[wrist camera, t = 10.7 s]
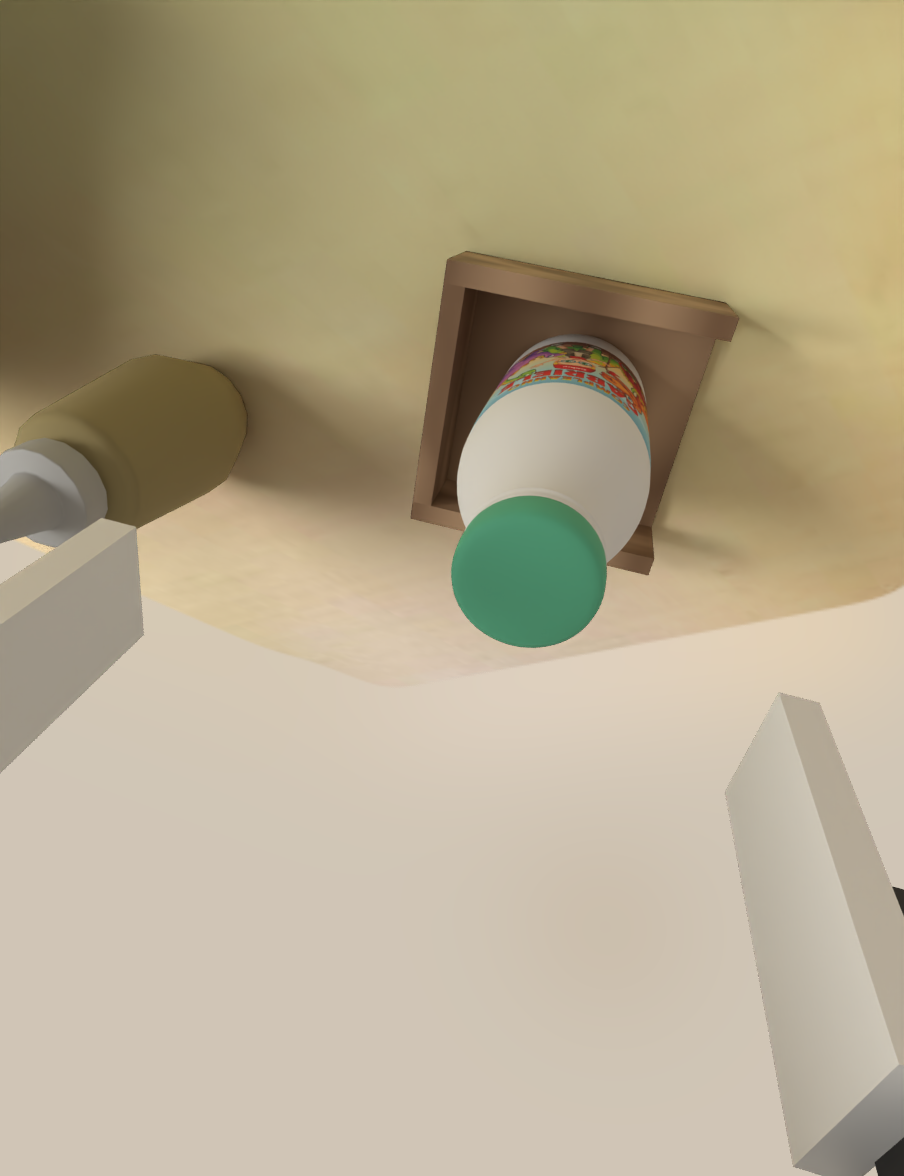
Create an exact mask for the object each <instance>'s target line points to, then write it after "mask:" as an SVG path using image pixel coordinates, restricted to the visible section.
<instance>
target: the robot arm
mask: <svg viewBox="0 0 904 1176" xmlns="http://www.w3.org/2000/svg"><path fill="white" fill-rule="evenodd" d="M143 635H144V631H143V618H142V604H141V589H140V575H139V561H138V547H137V533H136V527H135V526H131V525H127V524H123V523H119V522H115V521H112V520H108V519H104V518H100V519H99V520H97V521H96V522H94V523H93V524H91V525H90V526H88V527H87V528H85V529H84V530H82V531H81V532H79V533H78V534H76V535H75V536H73V537H71V538H70V539H68V540H67V541H65V542H64V543H62V544H61V545H59V546H58V547H56V548H55V549H53V550H52V551H50V552H49V553H47V554H46V555H44V556H43V557H41V558H39V559H38V560H37V561H35V562H33V563H32V564H30V565H29V566H27V567H26V568H24V569H23V570H21V571H20V572H18V573H17V574H15V575H14V576H12V577H11V578H9V579H8V580H6V581H4V582H3V583H1V584H0V773H1V772H2V771H3V770H4V769H5V768H6V767H7V766H8V765H9V764H10V763H11V762H12V761H13V760H14V759H15V758H16V757H17V756H19V755H20V754H21V753H22V752H23V751H24V750H25V749H26V748H27V747H28V746H29V745H30V744H31V743H32V742H33V741H34V740H35V739H36V738H37V737H38V736H39V735H40V734H41V733H42V732H43V731H44V730H46V729H47V728H48V727H49V726H50V724H52V723H53V722H54V721H55V720H56V719H57V718H58V717H59V716H60V715H61V714H62V713H63V712H64V711H65V710H66V709H67V708H68V707H69V706H70V705H71V704H72V703H74V701H75V700H77V699H78V698H79V697H80V696H81V695H82V694H83V693H84V692H85V691H86V690H87V689H88V688H89V687H90V686H91V685H92V684H93V683H94V682H95V681H96V680H97V679H98V678H99V677H100V676H101V675H103V673H105V672H106V671H107V670H108V669H109V668H110V667H111V666H112V665H113V664H114V663H115V662H116V661H117V660H118V659H119V658H120V657H121V656H122V655H123V654H124V653H125V652H126V651H127V650H128V649H130V648H131V647H132V646H133V645H134V644H135V643H136V642H137V641H138V640H139V639H140V638H141V637H142V636H143ZM725 795H726V800H727V806H728V811H729V817H730V823H731V828H732V834H733V839H734V845H735V850H736V856H737V861H738V867H739V872H740V878H741V883H742V889H743V894H744V899H745V905H746V911H747V916H748V922H749V927H750V933H751V938H752V944H753V949H754V954H755V960H756V966H757V971H758V977H759V982H760V988H761V993H762V999H763V1004H764V1010H765V1015H766V1020H767V1025H768V1032H769V1037H770V1043H771V1048H772V1053H773V1059H774V1065H775V1070H776V1076H777V1081H778V1087H779V1092H780V1098H781V1103H782V1108H783V1114H784V1120H785V1125H786V1131H787V1136H788V1142H789V1147H790V1153H791V1158H792V1164H793V1167H796V1168H799V1169H802V1170H806V1171H809V1172H812V1173H815V1174H819V1175H822V1176H864V1175H865V1174H866V1173H867V1172H869V1171H870V1170H871V1169H872V1168H873V1167H874V1166H876V1170H877V1173H878V1176H904V890H903V889H900V888H896V887H892V885H891V883H890V880H889V878H888V875H887V873H886V870H885V868H884V865H883V863H882V860H881V857H880V855H879V852H878V850H877V847H876V845H875V842H874V840H873V837H872V835H871V832H870V830H869V827H868V824H867V822H866V819H865V817H864V815H863V812H862V809H861V807H860V804H859V802H858V799H857V797H856V794H855V792H854V789H853V786H852V784H851V781H850V779H849V776H848V774H847V771H846V769H845V766H844V764H843V761H842V759H841V756H840V753H839V751H838V748H837V746H836V743H835V741H834V738H833V736H832V733H831V731H830V728H829V726H828V723H827V721H826V718H825V716H824V713H823V711H822V708H821V705H820V703H818V702H814V701H810V700H807V699H803V698H798V697H795V696H791V695H787V694H783V693H778V695H777V697H776V699H775V701H774V702H773V704H772V706H771V708H770V710H769V712H768V714H767V715H766V717H765V719H764V721H763V723H762V724H761V726H760V728H759V730H758V732H757V734H756V735H755V737H754V739H753V741H752V743H751V745H750V747H749V748H748V750H747V752H746V754H745V756H744V758H743V760H742V761H741V763H740V765H739V767H738V769H737V771H736V772H735V774H734V776H733V778H732V780H731V782H730V784H729V785H728V787H727V789H726V791H725Z"/></svg>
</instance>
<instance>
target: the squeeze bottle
mask: <svg viewBox="0 0 904 1176" xmlns="http://www.w3.org/2000/svg"><path fill="white" fill-rule="evenodd" d="M246 433H247V413H246V410H245V407H244V404H243V401H242V398H241V395H240V394H239V392H238V391H237V390H236V388H235V387H234V386H233V384H232V383H231V382H230V380H229V379H228V378H227V377H225V376H224V375H222V374H221V373H220V372H218V371H217V370H215V369H214V368H212V367H211V366H207V365H203V364H199V363H195V362H190V361H186V360H181V359H176V358H171V357H166V356H161V355H156V354H155V355H150V356H145V357H140V358H136V359H131V360H129V361H127V362H126V363H124V364H122V365H120V366H119V367H117V368H115V369H113V370H112V371H110V372H108V373H106V374H104V375H103V376H101V377H99V378H97V379H96V380H94V381H92V382H90V383H89V384H87V385H85V386H83V387H81V388H80V389H78V390H76V391H74V392H73V393H71V394H69V395H67V396H66V397H64V398H62V399H60V400H59V401H57V402H55V403H53V404H51V405H50V406H48V407H46V408H44V409H43V410H41V411H39V412H37V413H36V414H34V415H33V416H32V417H31V418H30V419H29V420H28V421H27V422H25V423H24V424H23V425H22V426H21V427H20V428H19V431H18V435H17V438H16V442H15V445H14V447H13V448H11V449H8V450H6V451H4V452H3V453H2V454H1V455H0V543H3V542H6V541H10V540H14V539H17V538H21V537H24V536H26V537H28V538H29V539H31V540H32V541H34V542H36V543H40V544H43V545H47V546H51V547H58V546H59V545H61V544H62V543H64V542H65V541H67V540H68V539H70V538H71V537H73V536H75V535H76V534H78V533H79V532H81V531H82V530H84V529H85V528H87V527H88V526H90V525H91V524H93V523H94V522H96V521H97V520H99V519H100V518H104V519H108V520H112V521H115V522H119V523H123V524H127V525H131V526H135V527H136V529H138V528H140V527H141V526H143V525H145V524H147V523H149V522H151V521H153V520H155V519H157V518H159V517H161V516H163V515H165V514H167V513H169V512H171V511H173V510H175V509H177V508H179V507H181V506H183V505H185V504H187V503H189V502H191V501H193V500H194V499H196V498H198V497H200V496H202V495H204V494H206V493H208V492H210V491H211V490H213V489H214V488H215V487H217V486H218V485H220V484H221V483H222V482H224V481H225V480H227V478H228V476H229V473H230V471H231V469H232V467H233V465H234V463H235V461H236V459H237V457H238V454H239V451H240V449H241V446H242V443H243V441H244V438H245V435H246Z"/></svg>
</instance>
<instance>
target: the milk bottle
mask: <svg viewBox="0 0 904 1176" xmlns="http://www.w3.org/2000/svg"><path fill="white" fill-rule="evenodd" d="M650 472H651V455H650V438H649V426H648V415H647V405H646V397H645V392H644V388H643V385H642V381H641V379H640V376H639V374H638V372H637V370H636V369H635V367H634V366H633V364H632V363H631V361H630V360H629V359H628V358H627V357H626V356H625V355H624V354H623V353H622V352H621V351H620V350H619V349H617V348H616V347H615V346H613V345H611V344H610V343H608V342H606V341H604V340H601V339H599V338H596V337H592V336H588V335H581V334H566V335H559V336H555V337H551V338H548V339H546V340H543V341H541V342H539V343H537V344H535V345H534V346H532V347H531V348H529V349H528V350H527V351H525V352H524V353H523V354H522V355H521V356H520V357H519V358H518V359H517V360H516V361H515V362H514V364H513V365H512V366H511V367H510V369H509V370H508V371H507V373H506V374H505V376H504V377H503V379H502V380H501V382H500V383H499V385H498V386H497V388H496V390H495V391H494V393H493V394H492V396H491V397H490V399H489V400H488V402H487V404H486V405H485V407H484V409H483V410H482V412H481V413H480V415H479V417H478V418H477V420H476V422H475V424H474V426H473V428H472V430H471V432H470V434H469V436H468V438H467V440H466V443H465V445H464V448H463V451H462V454H461V458H460V463H459V468H458V475H457V496H458V504H459V509H460V513H461V516H462V519H463V522H464V525H465V527H466V529H465V531H464V533H463V535H462V537H461V538H460V540H459V543H458V545H457V548H456V551H455V554H454V557H453V561H452V569H451V578H452V586H453V591H454V595H455V598H456V600H457V602H458V605H459V606H460V608H461V610H462V612H463V613H464V614H465V616H466V617H467V618H468V619H469V621H470V622H471V623H472V624H473V625H474V626H475V627H477V628H478V629H479V630H480V631H482V632H483V633H485V634H486V635H488V636H490V637H491V638H493V639H496V640H498V641H500V642H503V643H506V644H509V645H513V646H518V647H527V648H537V647H546V646H551V645H555V644H558V643H561V642H563V641H566V640H568V639H570V638H571V637H573V636H575V635H576V634H578V633H579V632H580V631H581V630H583V629H584V628H585V627H586V626H587V625H588V624H589V622H590V621H591V620H592V618H593V617H594V616H595V614H596V612H597V611H598V609H599V607H600V605H601V602H602V599H603V596H604V592H605V586H606V578H607V568H606V566H607V562H609V561H610V560H611V559H612V558H613V557H614V556H615V555H616V554H617V553H618V552H619V551H620V550H621V549H622V548H623V547H624V546H625V545H626V543H627V542H628V541H629V539H630V538H631V536H632V535H633V533H634V531H635V530H636V528H637V526H638V524H639V522H640V520H641V518H642V515H643V512H644V510H645V506H646V503H647V499H648V495H649V488H650Z"/></svg>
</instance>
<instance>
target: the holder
mask: <svg viewBox="0 0 904 1176" xmlns="http://www.w3.org/2000/svg"><path fill="white" fill-rule="evenodd" d="M738 320H739V317H738V316H737V315H736V314H735V313H734V311H733V310H732V309H731V308H730V307H729V306H728V305H727V304H726V303H724V302H719V301H714V300H709V299H704V298H699V297H694V296H689V295H684V294H679V293H674V292H669V291H664V290H659V289H654V288H649V287H644V286H639V285H634V284H629V283H624V282H619V281H614V280H609V279H604V278H599V277H594V276H589V275H584V274H579V273H574V272H569V271H564V270H559V269H554V268H549V267H544V266H539V265H534V264H529V263H524V262H519V261H514V260H509V259H504V258H499V257H494V256H488V255H483V254H478V253H473V252H468V251H466V252H463V253H461V254H458V255H456V256H454V257H451V258H449V259H447V264H446V271H445V278H444V285H443V292H442V299H441V306H440V313H439V320H438V327H437V335H436V342H435V349H434V356H433V363H432V370H431V377H430V384H429V391H428V398H427V405H426V412H425V419H424V426H423V433H422V441H421V448H420V455H419V462H418V469H417V476H416V483H415V490H414V497H413V504H412V511H411V519H415V520H419V521H424V522H428V523H432V524H436V525H440V526H444V527H449V528H453V529H457V530H461V531H465V529H466V527H465V525H464V522H463V519H462V516H461V513H460V509H459V504H458V496H457V475H458V468H459V463H460V458H461V454H462V451H463V448H464V445H465V443H466V440H467V438H468V436H469V434H470V432H471V430H472V428H473V426H474V424H475V422H476V420H477V418H478V417H479V415H480V413H481V412H482V410H483V409H484V407H485V405H486V404H487V402H488V400H489V399H490V397H491V396H492V394H493V393H494V391H495V390H496V388H497V386H498V385H499V383H500V382H501V380H502V379H503V377H504V376H505V374H506V373H507V371H508V370H509V369H510V367H511V366H512V365H513V364H514V362H515V361H516V360H517V359H518V358H519V357H520V356H521V355H522V354H523V353H524V352H525V351H527V350H528V349H529V348H531V347H532V346H534V345H535V344H537V343H539V342H541V341H543V340H546V339H548V338H551V337H555V336H559V335H566V334H581V335H588V336H592V337H596V338H599V339H601V340H604V341H606V342H608V343H610V344H611V345H613V346H615V347H616V348H617V349H619V350H620V351H621V352H622V353H623V354H624V355H625V356H626V357H627V358H628V359H629V360H630V361H631V363H632V364H633V366H634V367H635V369H636V370H637V372H638V374H639V376H640V379H641V381H642V385H643V388H644V392H645V397H646V405H647V415H648V426H649V438H650V455H651V472H650V488H649V495H648V499H647V503H646V506H645V510H644V512H643V515H642V518H641V520H640V522H639V524H638V526H637V528H636V530H635V531H634V533H633V535H632V536H631V538H630V539H629V541H628V542H627V543H626V545H625V546H624V547H623V548H622V549H621V550H620V551H619V552H618V553H617V554H616V555H615V556H614V557H613V558H612V559H611V560H610V561H609V562H607V566H611V567H615V568H620V569H624V570H628V571H632V572H636V573H641V574H645V575H649V572H650V569H651V566H652V563H653V561H654V552H653V540H652V528H651V527H652V524H653V521H654V518H655V515H656V512H657V509H658V506H659V504H660V501H661V498H662V495H663V492H664V489H665V486H666V483H667V480H668V477H669V474H670V471H671V468H672V466H673V463H674V460H675V457H676V454H677V451H678V448H679V445H680V442H681V439H682V436H683V433H684V430H685V427H686V425H687V422H688V419H689V416H690V413H691V410H692V407H693V404H694V401H695V398H696V395H697V392H698V389H699V387H700V384H701V381H702V378H703V375H704V372H705V369H706V366H707V363H708V360H709V357H710V354H711V351H712V349H713V346H714V343H715V340H716V339H720V340H725V341H730V342H731V340H732V337H733V334H734V331H735V329H736V326H737V323H738Z"/></svg>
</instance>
